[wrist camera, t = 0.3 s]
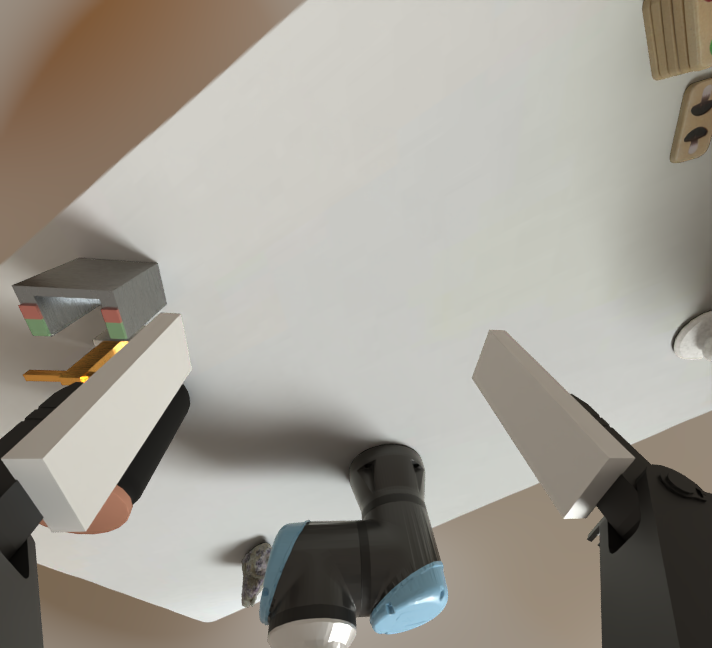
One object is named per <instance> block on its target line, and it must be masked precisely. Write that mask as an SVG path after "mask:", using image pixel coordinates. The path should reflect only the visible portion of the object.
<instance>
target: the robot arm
mask: <svg viewBox="0 0 712 648" xmlns="http://www.w3.org/2000/svg"><path fill="white" fill-rule="evenodd" d="M191 370H192V367H191V361H190V356H189V351H188V346H187V341H186V336H185V331H184V326H183V321H182V316H181V314H176V313H160V314H159V315H158V316H156V317H155V318H154V319H153V320H152V321H151V322H150V323H149V324H148V325H147V326H146V327H144V328H143V329H142V330H141V331H140V332H139V333H138V334H137V335H136V336H135V337H133V338H132V339H131V340H130V341H129V342H128V343H127V344H126V345H125V346H124V347H123V348H121V349H120V350H119V351H118V352H117V353H116V354H115V355H114V356H113V357H112V358H110V359H109V360H108V361H107V362H106V363H105V364H104V365H103V366H102V367H101V368H100V369H98V370H97V371H96V372H95V373H94V374H93V375H92V376H91V377H90V378H89V379H88V380H86V381H85V382H74V383H72V384H70V385H69V386H67V387H65V388H63V389H61V390H59V391H58V392H56V393H54V394H53V395H52V396H51V397H49V398H48V399H47V400H46V401H45V402H44V403H42V404H41V405H40V406H39V408H38V410H34V411H33V412H32V413H31V414H29V415H28V416H27V417H26V418H25V421H21V422H20V423H19V424H18V425H17V426H15V427H14V428H13V429H12V430H11V431H10V432H8V433H7V434H6V435H5V436H4V437H3V438H1V439H0V648H43V635H42V623H41V612H40V598H39V586H38V574H37V561H36V549H35V542H34V540H33V538H32V536H31V533H32V532H33V531H34V529H35V528H36V527H37V526H38V524H39V523H40V522H41V521H42V519H43V520H44V522H45V523H46V524H47V526H48V527H49V529H50V530H51V532H86V531H87V529H88V528H89V526H90V525H91V523H92V522H93V520H94V519H95V517H96V515H97V514H98V512H99V511H100V509H101V508H102V506H103V505H104V503H105V502H106V500H107V499H108V497H109V496H110V494H111V492H112V491H113V489H114V488H115V486H116V485H117V483H118V482H119V480H120V479H121V477H122V476H123V474H124V473H125V471H126V469H127V468H128V466H129V465H130V463H131V462H132V460H133V459H134V457H135V456H136V454H137V453H138V451H139V450H140V448H141V446H142V445H143V443H144V442H145V440H146V439H147V437H148V436H149V434H150V433H151V431H152V430H153V428H154V427H155V425H156V423H157V422H158V420H159V419H160V417H161V416H162V414H163V413H164V411H165V410H166V408H167V407H168V405H169V404H170V402H171V400H172V399H173V397H174V396H175V394H176V393H177V391H178V390H179V388H180V387H181V385H182V384H183V382H184V381H185V379H186V378H187V376H188V374H189V373H190V371H191ZM472 379H473V380H474V382H475V383H476V385H477V387H478V388H479V390H480V391H481V393H482V394H483V396H484V397H485V399H486V400H487V402H488V403H489V405H490V407H491V408H492V410H493V411H494V413H495V414H496V416H497V417H498V419H499V420H500V422H501V424H502V425H503V427H504V428H505V430H506V431H507V433H508V434H509V436H510V437H511V439H512V440H513V442H514V444H515V445H516V447H517V448H518V450H519V451H520V453H521V454H522V456H523V457H524V459H525V460H526V462H527V464H528V465H529V467H530V468H531V470H532V471H533V473H534V474H535V476H536V477H537V479H538V480H539V482H540V484H541V485H542V487H543V488H544V490H545V491H546V493H547V494H548V496H549V497H550V499H551V501H552V502H553V504H554V505H555V507H556V508H557V510H558V511H559V513H560V514H561V516H562V517H563V518H564V519H571V518H572V519H573V518H587V517H588V515H589V514H590V513H591V512H592V511H593V509H594V508H595V507H596V506H597V507H598V509H599V510H600V511H601V512H602V514H603V515H604V517H603V518H602V519H601V521H600V522H599V523H598V524H597V525H596V526H595V528H594V529H593V530H592V531H591V532H590V533H589V535H588V538H587V540H589V541H591V542H592V541H593V540H594V538H595V537H596V536H598V535H600V543H599V544H598V546H599V547H600V573H601V574H600V576H601V613H602V614H601V615H602V616H601V618H602V648H712V494H710V493H707V492H704V491H703V490H702V489H701V488H700V487H699V486H698V485H697V484H695V483H694V482H693V481H691V480H690V479H688V478H687V477H686V476H684V475H682V474H680V473H679V472H677V471H675V470H673V469H670V468H667V467H665V466H661V465H653V464H652V465H651V464H650V463H649V462H648V461H647V460H646V459H645V458H644V457H643V456H642V455H641V454H639V453H638V452H637V451H636V450H635V449H634V448H633V447H632V446H631V445H630V444H629V443H628V442H627V441H626V440H625V439H624V438H623V437H622V436H621V435H620V434H618V433H617V432H616V431H615V430H614V429H613V428H611V427H610V426H609V424H608V423H607V422H606V421H605V420H604V419H603V418H600V417H599V416H600V415H599V414H597V413H596V412H595V411H594V410H593V409H592V408H591V407H590V406H589V405H588V404H587V403H585V402H584V401H582V400H581V399H579V398H577V397H576V396H574V395H573V394H569V393H568V392H567V391H566V390H565V389H564V388H563V387H562V386H561V385H560V384H559V383H558V382H557V381H556V380H555V379H554V378H553V377H552V376H551V375H550V374H549V373H548V372H547V371H546V370H545V369H544V368H543V367H542V366H541V365H540V364H539V363H538V362H537V361H536V360H535V359H534V358H533V357H532V356H531V355H530V354H529V353H528V352H527V351H525V350H524V349H523V348H522V347H521V346H520V345H519V344H518V343H517V342H516V341H515V340H514V339H513V338H512V337H511V336H510V335H509V334H508V333H507V332H506V331H503V330H489V332H488V335H487V338H486V340H485V343H484V346H483V349H482V352H481V354H480V357H479V360H478V363H477V365H476V368H475V371H474V374H473V377H472ZM349 474H350V484H351V488H352V490H353V493H354V495H355V497H356V500H357V502H358V505H359V507H360V510H361V512H362V520H358V521H312V522H311V521H310V520H307V521H305V522H301V523H290V524H286V525H285V526H283V527H282V528H281V529H280V531H279V532H278V534H277V536H276V538H275V540H274V543H273V546H272V549H271V553H270V556H269V560H268V564H267V568H266V573H265V577H264V583H263V591H262V596H261V601H260V611H259V615H260V621H261V622H262V623H264V624H265V625H269V631H268V639H267V641H268V643H269V645H270V647H271V648H349V646H350V645H351V643H352V641H353V640H354V638H355V636H356V617H370V623H371V625H372V628H373V629H374V631H375V632H377V633H379V634H382V633H385V634H395V633H400V632H404V631H408V630H410V629H413V628H416V627H418V626H421V625H423V624H425V623H426V622H428V621H430V620H432V619H433V618H434V617H436V616H437V615H438V614H439V613H440V612H441V611H442V610H443V609H444V607H445V605H446V603H447V599H448V590H447V585H446V581H445V577H444V572H443V563H442V562H441V560H440V556H439V552H438V549H437V545H436V542H435V538H434V535H433V531H432V527H431V524H430V520H429V517H428V513H427V510H426V506H425V502H424V492H425V469H424V466H423V462H422V459H421V457H420V455H419V454H418V453H417V452H416V451H414V450H413V449H411V448H408V447H406V446H401V445H382V446H377V447H374V448H371V449H368V450H366V451H364V452H363V453H361V454H360V455H359V456H357V457H356V458H355V459H354V461H353V462H352V464H351V466H350V470H349Z"/></svg>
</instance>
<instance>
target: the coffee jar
mask: <svg viewBox="0 0 712 648" xmlns="http://www.w3.org/2000/svg"><path fill="white" fill-rule="evenodd" d="M189 407H190V399H189V394H188V391H187V389H186V388H185V386H184V385H183V384H182V385H181V387H180V388H179V390H178V391H177V393H176V394H175V396H174V397H173V399H172V400H171V402H170V404H169V405H168V407H167V408H166V410H165V411H164V413H163V414H162V416H161V417H160V419H159V420H158V422H157V423H156V425H155V427H154V428H153V430H152V431H151V433H150V434H149V436H148V437H147V439H146V440H145V442H144V443H143V445H142V446H141V448H140V450H139V451H138V453H137V454H136V456H135V457H134V459H133V460H132V462H131V463H130V465H129V466H128V468H127V469H126V471H125V473H124V474H123V476H122V477H121V479H120V480H119V482H118V483H117V485H116V486H115V488H114V489H113V491H112V492H111V494H110V496H109V497H108V499H107V500H106V502H105V503H104V505H103V506H102V508H101V509H100V511H99V512H98V514H97V515H96V517H95V519H94V520H93V522H92V523H91V525H90V526H89V528H88V529H87V531H86V532H68V533H75V534H98V533H105V532H109V531H112V530H114V529H117V528H119V527H120V526H121V525H123V524H124V523H125V522H126V521H127V520H128V518H129V515H130V513H131V510H132V507H133V504H134V503H135V502H136V501H138V499H139V498H140V497H141V495H142V493H143V491H144V490H145V488H146V486H147V484H148V482H149V480H150V479H151V477H152V475H153V473H154V471H155V470H156V468H157V466H158V464H159V462H160V461H161V459H162V457H163V455H164V453H165V452H166V450H167V448H168V446H169V444H170V443H171V441H172V439H173V437H174V435H175V434H176V432H177V430H178V428H179V426H180V425H181V423H182V421H183V419H184V417H185V415H186V414H187V412H188V409H189ZM39 524H41V525H43V526H45V527H48V526H47V524H46V523H45V522H44V520H43V519H42V521H41V522H40V523H39ZM48 528H49V527H48Z"/></svg>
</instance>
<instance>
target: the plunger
mask: <svg viewBox="0 0 712 648" xmlns="http://www.w3.org/2000/svg"><path fill="white" fill-rule="evenodd" d="M144 327H146V326H142V327H141V328H140V329H139V330H138V331H137V332H135V333H134V334H133V335H132V336H131V337H130V338H129V339H111V338H110V335H109V332H108V329H106V330H105V331H104V332H103V333H101V334H100V335H99V336H97V337H96V338H95V339H94V340H93V343H94V345H95V348H94V349H93V350H91V351H90V352H89V353H88V354H86V355H85V356H84V357H83V358H82V359H80V360H79V361H78V362H77V363H75V364H74V365H73V366H72V367H71V368H69V369H68V370H67V371H52V370H29V371H27V372H26V373H25V374H23V376H24V378H25V380H26V381H53V382H61V384H62V385H70V384H72V383H74V382H85V381H86V380H88V379H89V378H90V377H91V376H92V375H93V374H94V373H95V372H96V371H97V370H98V369H100V368H101V367H102V366H103V365H104V364H105V363H106V362H107V361H108V360H109V359H110V358H112V357H113V356H114V355H115V354H116V353H117V352H118V351H119V350H120V349H121V348H123V347H124V346H125V345H126V344H127V343H128V342H129V341H130V340H131V339H132V338H133V337H135V336H136V335H137V334H138V333H139V332H140V331H141V330H142V329H143V328H144Z"/></svg>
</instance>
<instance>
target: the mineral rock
mask: <svg viewBox="0 0 712 648" xmlns="http://www.w3.org/2000/svg"><path fill="white" fill-rule="evenodd" d="M271 549H272V547H271V546H270V544H268V543H263V544H261V545H258V546H256V547H255V548H253V550H251V551H250V552H249V553H248V554H246V556H245V558H244V559H243V560H242V571H243V586H242V587H243V589H242V606H244V607H247V608H248V607H249V606H250V605H251V606H252V607H253V606H254V603H255V600H256V598H257V595H258V594H259V593H260V592H261V590H262V589H263V583H264V577H265V573H266V568H267V564H268V560H269V556H270V553H271Z"/></svg>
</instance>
